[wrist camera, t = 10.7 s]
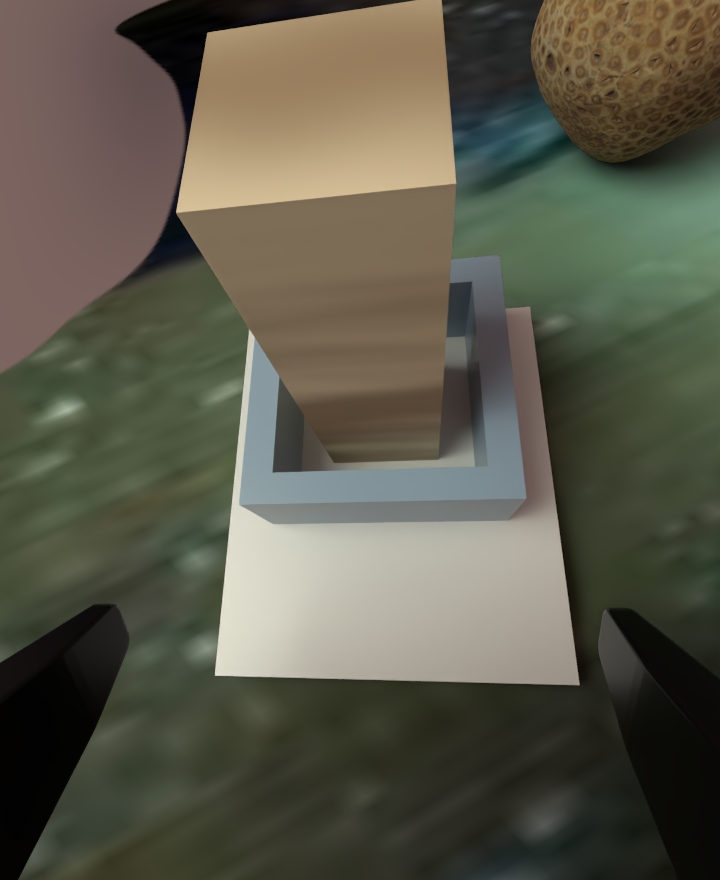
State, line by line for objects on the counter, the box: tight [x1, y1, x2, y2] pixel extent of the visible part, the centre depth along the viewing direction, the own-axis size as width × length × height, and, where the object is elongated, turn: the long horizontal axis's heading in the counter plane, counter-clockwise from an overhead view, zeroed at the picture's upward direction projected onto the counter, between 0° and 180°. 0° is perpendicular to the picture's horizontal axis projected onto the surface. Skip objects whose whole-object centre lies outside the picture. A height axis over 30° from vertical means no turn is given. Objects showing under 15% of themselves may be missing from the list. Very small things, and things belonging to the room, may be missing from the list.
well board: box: [215, 255, 580, 685], centre depth 17 cm, size 14×12×4 cm
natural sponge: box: [531, 0, 720, 163], centre depth 19 cm, size 9×9×10 cm
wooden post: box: [176, 0, 456, 463], centre depth 13 cm, size 4×4×12 cm
